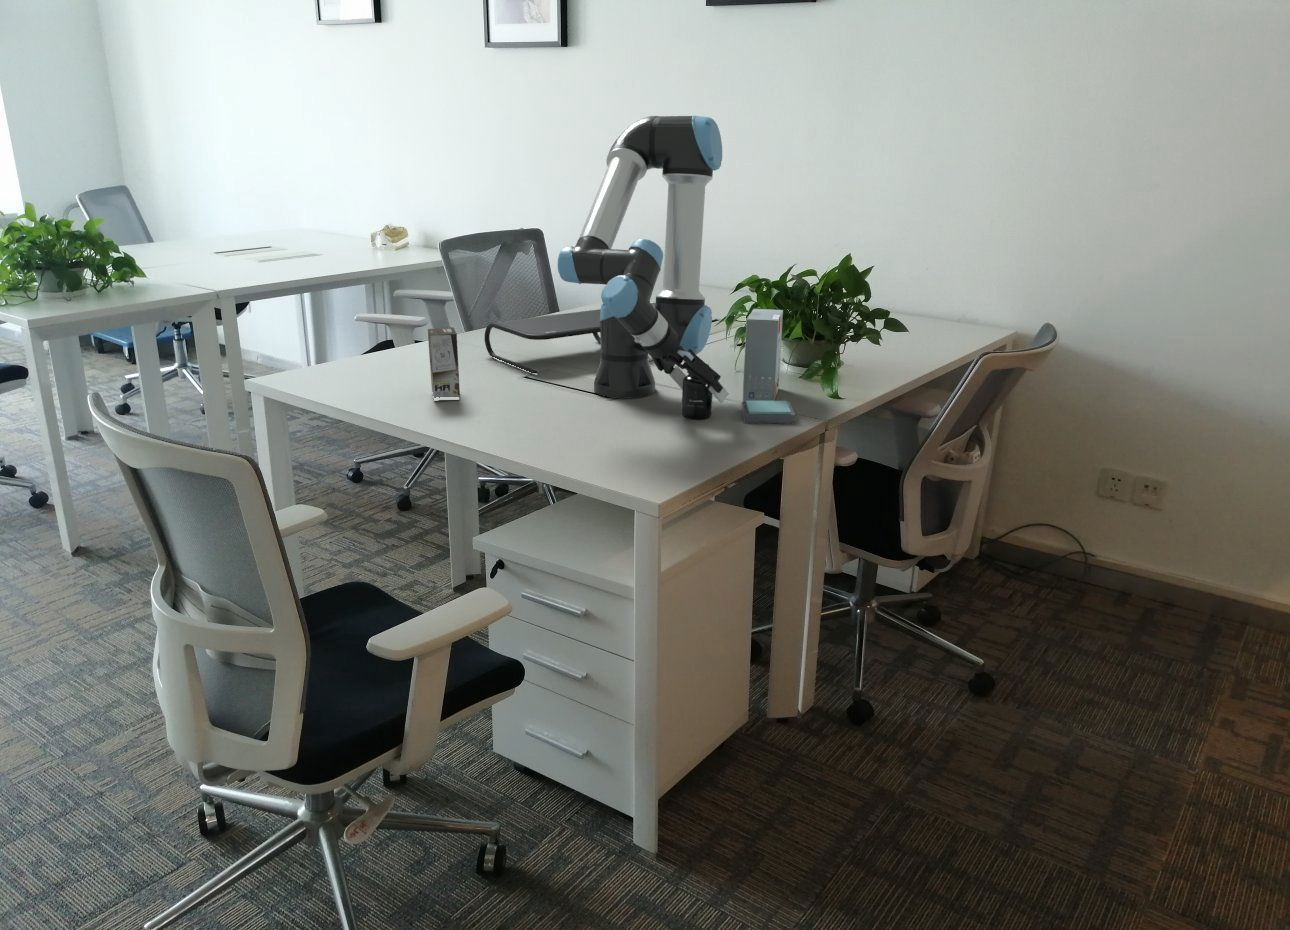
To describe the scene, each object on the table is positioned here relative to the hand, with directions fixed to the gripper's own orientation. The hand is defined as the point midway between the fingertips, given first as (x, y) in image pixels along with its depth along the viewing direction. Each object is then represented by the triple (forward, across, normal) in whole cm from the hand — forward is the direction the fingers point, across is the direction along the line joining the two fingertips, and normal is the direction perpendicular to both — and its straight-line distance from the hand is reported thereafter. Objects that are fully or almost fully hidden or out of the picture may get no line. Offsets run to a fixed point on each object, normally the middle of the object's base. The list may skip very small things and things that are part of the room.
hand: (706, 392), depth 233 cm
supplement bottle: (+2, 0, -6) cm, 6 cm away
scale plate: (+9, +10, +4) cm, 15 cm away
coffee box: (-23, -51, -31) cm, 64 cm away
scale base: (+10, +10, +3) cm, 15 cm away
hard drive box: (+19, -4, +12) cm, 23 cm away
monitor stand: (+10, -68, +2) cm, 68 cm away
